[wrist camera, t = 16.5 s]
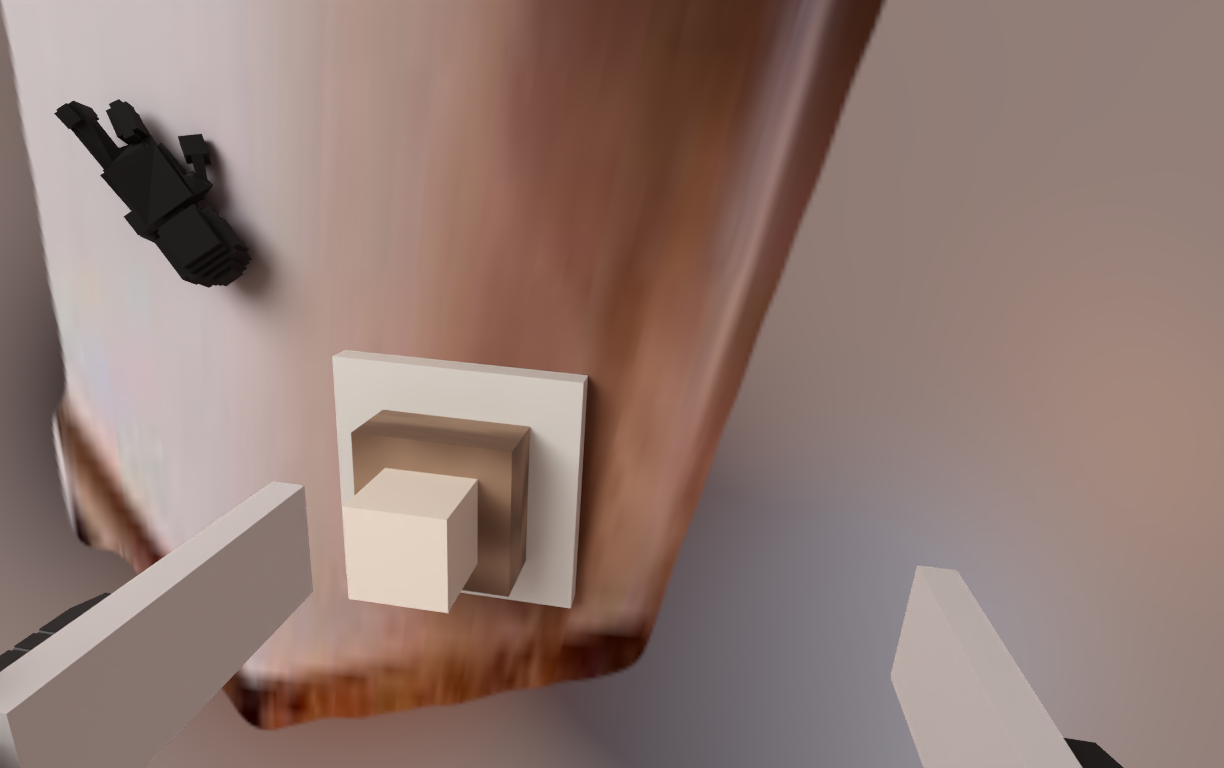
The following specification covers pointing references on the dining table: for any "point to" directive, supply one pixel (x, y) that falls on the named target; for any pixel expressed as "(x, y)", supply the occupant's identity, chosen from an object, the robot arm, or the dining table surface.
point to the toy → (162, 193)
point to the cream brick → (411, 539)
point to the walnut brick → (461, 453)
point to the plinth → (491, 397)
